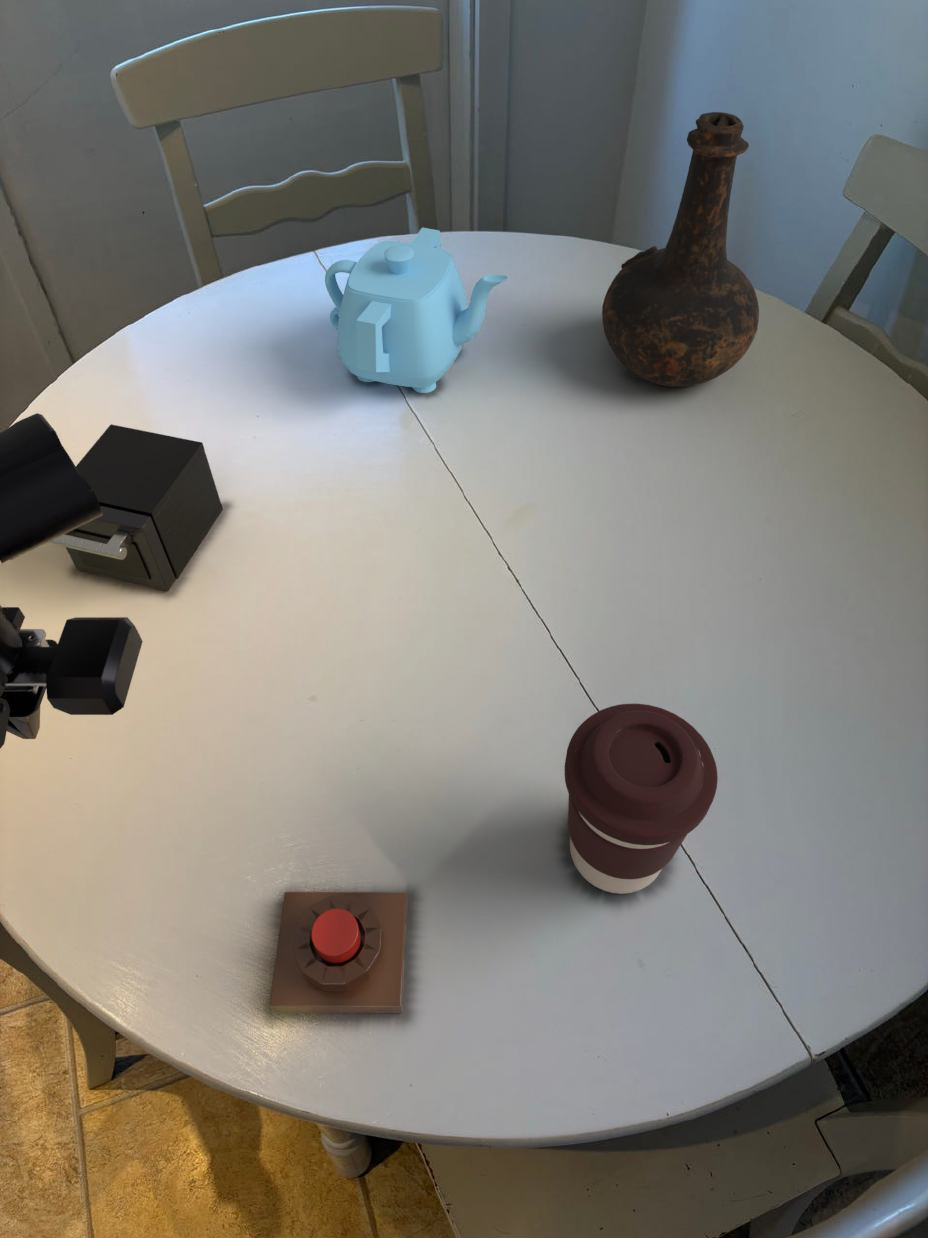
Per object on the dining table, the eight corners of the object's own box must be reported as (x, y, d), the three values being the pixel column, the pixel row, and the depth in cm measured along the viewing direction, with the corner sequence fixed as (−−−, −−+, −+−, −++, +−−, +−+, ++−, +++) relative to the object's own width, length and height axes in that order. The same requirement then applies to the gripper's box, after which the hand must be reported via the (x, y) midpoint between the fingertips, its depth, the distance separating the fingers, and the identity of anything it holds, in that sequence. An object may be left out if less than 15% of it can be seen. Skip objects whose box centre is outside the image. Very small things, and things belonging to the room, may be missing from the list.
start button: (312, 963, 61) (308, 955, 59) (317, 917, 63) (313, 908, 61) (359, 964, 61) (356, 955, 59) (362, 917, 63) (360, 908, 61)
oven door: (155, 612, 84) (126, 549, 77) (62, 589, 86) (26, 526, 79) (176, 579, 86) (150, 516, 80) (85, 558, 88) (53, 494, 81)
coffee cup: (541, 896, 67) (555, 805, 55) (563, 781, 73) (580, 677, 61) (674, 927, 65) (718, 840, 53) (686, 807, 71) (727, 705, 59)
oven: (177, 578, 87) (151, 513, 80) (87, 558, 88) (54, 491, 81) (223, 509, 93) (202, 442, 86) (137, 490, 94) (110, 423, 87)
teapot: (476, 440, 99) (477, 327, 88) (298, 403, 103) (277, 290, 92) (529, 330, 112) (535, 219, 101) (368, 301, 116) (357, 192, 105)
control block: (273, 1013, 62) (263, 998, 59) (288, 900, 67) (280, 882, 64) (402, 1013, 62) (399, 999, 59) (407, 900, 67) (404, 882, 64)
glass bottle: (666, 303, 115) (711, 64, 93) (775, 368, 107) (854, 121, 85) (565, 356, 108) (588, 111, 86) (673, 430, 100) (730, 178, 78)
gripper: (-322, 711, 45) (-151, 841, 57) (45, 711, 45) (138, 842, 57) (-216, 549, 52) (-83, 696, 64) (103, 548, 52) (174, 696, 64)
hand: (32, 733), depth 62 cm, fingers closed
